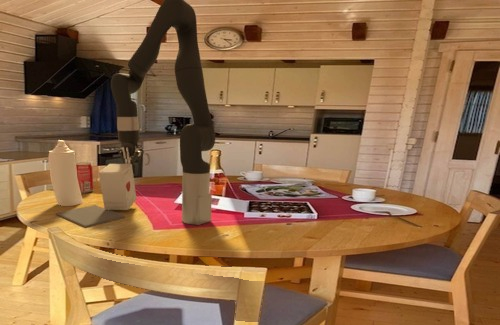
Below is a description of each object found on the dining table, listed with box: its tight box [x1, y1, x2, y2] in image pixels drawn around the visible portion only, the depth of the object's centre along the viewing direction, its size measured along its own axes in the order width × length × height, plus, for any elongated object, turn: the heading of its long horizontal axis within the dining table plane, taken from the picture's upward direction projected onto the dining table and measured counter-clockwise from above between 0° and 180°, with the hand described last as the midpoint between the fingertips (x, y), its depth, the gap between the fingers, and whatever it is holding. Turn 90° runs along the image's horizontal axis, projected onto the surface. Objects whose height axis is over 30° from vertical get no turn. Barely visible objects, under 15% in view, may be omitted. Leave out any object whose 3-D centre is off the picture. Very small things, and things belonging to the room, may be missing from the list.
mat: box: [55, 204, 127, 228], centre depth 111 cm, size 20×14×1 cm
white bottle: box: [48, 139, 84, 207], centre depth 123 cm, size 12×11×25 cm
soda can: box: [76, 161, 94, 194], centre depth 144 cm, size 7×7×13 cm
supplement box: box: [98, 163, 137, 211], centre depth 118 cm, size 9×9×15 cm
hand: (131, 174), depth 122 cm, fingers closed
